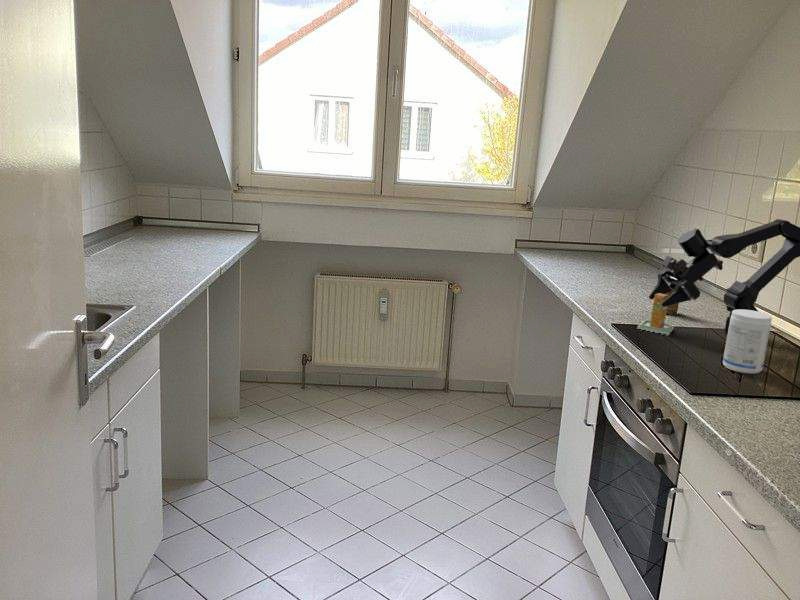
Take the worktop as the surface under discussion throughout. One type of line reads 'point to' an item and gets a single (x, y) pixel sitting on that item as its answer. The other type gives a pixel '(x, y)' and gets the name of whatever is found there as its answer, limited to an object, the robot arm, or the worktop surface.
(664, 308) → the supplement box
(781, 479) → the worktop surface
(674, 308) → the condiment
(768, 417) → the worktop surface
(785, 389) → the worktop surface
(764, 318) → the supplement tub
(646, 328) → the plate
